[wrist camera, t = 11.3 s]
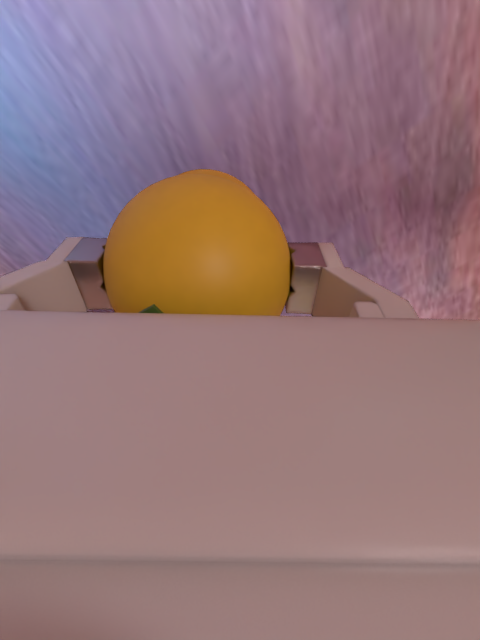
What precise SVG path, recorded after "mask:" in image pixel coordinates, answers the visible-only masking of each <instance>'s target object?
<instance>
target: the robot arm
mask: <svg viewBox="0 0 480 640" xmlns="http://www.w3.org/2000/svg"><path fill="white" fill-rule="evenodd" d="M106 242H107V238H89V237H67V238H66V239H65V240H64V241H63V242H62V243H61V244H60V245H59V247H58V248H57V249H56V250H55V251H54V252H53V253H52V254H51V255H50V256H49V258H48V259H47V260H46V261H39V262H36V263H34V264H31V265H29V266H26V267H24V268H21V269H19V270H16V271H14V272H11V273H9V274H6V275H4V276H1V277H0V640H480V320H464V319H420V318H419V317H418V315H417V314H416V312H415V311H414V309H413V308H412V306H411V304H410V303H409V301H407V300H405V299H403V298H401V297H400V296H398V295H396V294H394V293H393V292H391V291H389V290H387V289H386V288H384V287H382V286H380V285H379V284H377V283H375V282H373V281H371V280H370V279H368V278H366V277H364V276H363V275H361V274H359V273H357V272H356V271H354V270H352V269H350V268H344V266H343V264H342V261H341V259H340V257H339V255H338V253H337V251H336V249H335V247H334V245H333V243H288V247H289V251H290V259H291V279H290V289H289V294H288V297H287V300H286V303H285V308H286V313H302V314H311V315H312V316H264V315H214V314H164V313H115V312H86V311H87V309H113V307H112V305H111V303H110V300H109V297H108V294H107V291H106V287H105V282H104V272H103V258H104V252H105V246H106Z"/></svg>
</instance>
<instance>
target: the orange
mask: <svg viewBox="0 0 480 640" xmlns="http://www.w3.org/2000/svg"><path fill="white" fill-rule="evenodd" d="M103 272H104V282H105V287H106V291H107V294H108V297H109V300H110V303H111V305H112V307H113V309H114V311H115V313H164V314H214V315H264V316H280V314H281V312H282V310H283V308H284V306H285V303H286V300H287V297H288V294H289V289H290V279H291V259H290V251H289V247H288V243H287V240H286V237H285V235H284V232H283V230H282V228H281V226H280V224H279V222H278V220H277V219H276V217H275V216H274V214H273V213H272V212H271V211H270V209H269V208H268V207H267V206H266V205H265V204H264V203H263V201H262V200H260V199H259V198H258V197H257V196H256V195H255V194H254V193H253V192H252V191H251V190H250V189H249V187H247V186H246V185H245V184H244V183H243V182H241V181H240V180H238V179H237V178H235V177H233V176H231V175H229V174H227V173H223V172H220V171H216V170H210V169H198V170H191V171H187V172H184V173H181V174H179V175H177V176H173V177H169V178H166V179H164V180H161V181H159V182H157V183H154V184H152V185H150V186H149V187H147V188H145V189H144V190H142V191H141V192H139V193H138V194H137V195H136V196H135V197H134V198H133V199H131V200H130V201H129V202H128V204H127V205H126V206H125V207H124V208H123V210H122V211H121V212H120V213H119V215H118V217H117V219H116V220H115V222H114V224H113V226H112V228H111V230H110V233H109V235H108V238H107V242H106V246H105V252H104V258H103Z"/></svg>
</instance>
